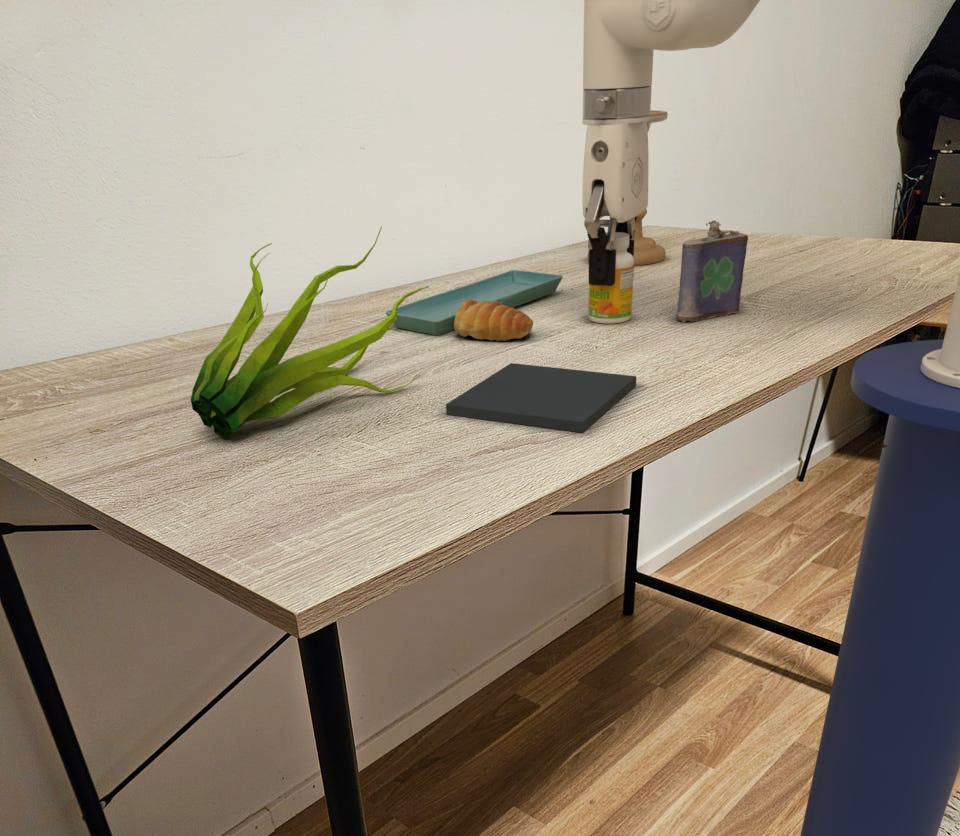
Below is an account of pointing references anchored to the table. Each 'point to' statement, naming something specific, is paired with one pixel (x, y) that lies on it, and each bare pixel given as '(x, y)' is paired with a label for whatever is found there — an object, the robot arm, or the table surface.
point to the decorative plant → (276, 362)
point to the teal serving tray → (505, 288)
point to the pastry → (491, 321)
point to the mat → (543, 397)
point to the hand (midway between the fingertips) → (611, 277)
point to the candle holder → (643, 246)
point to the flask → (711, 274)
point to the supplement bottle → (614, 288)
